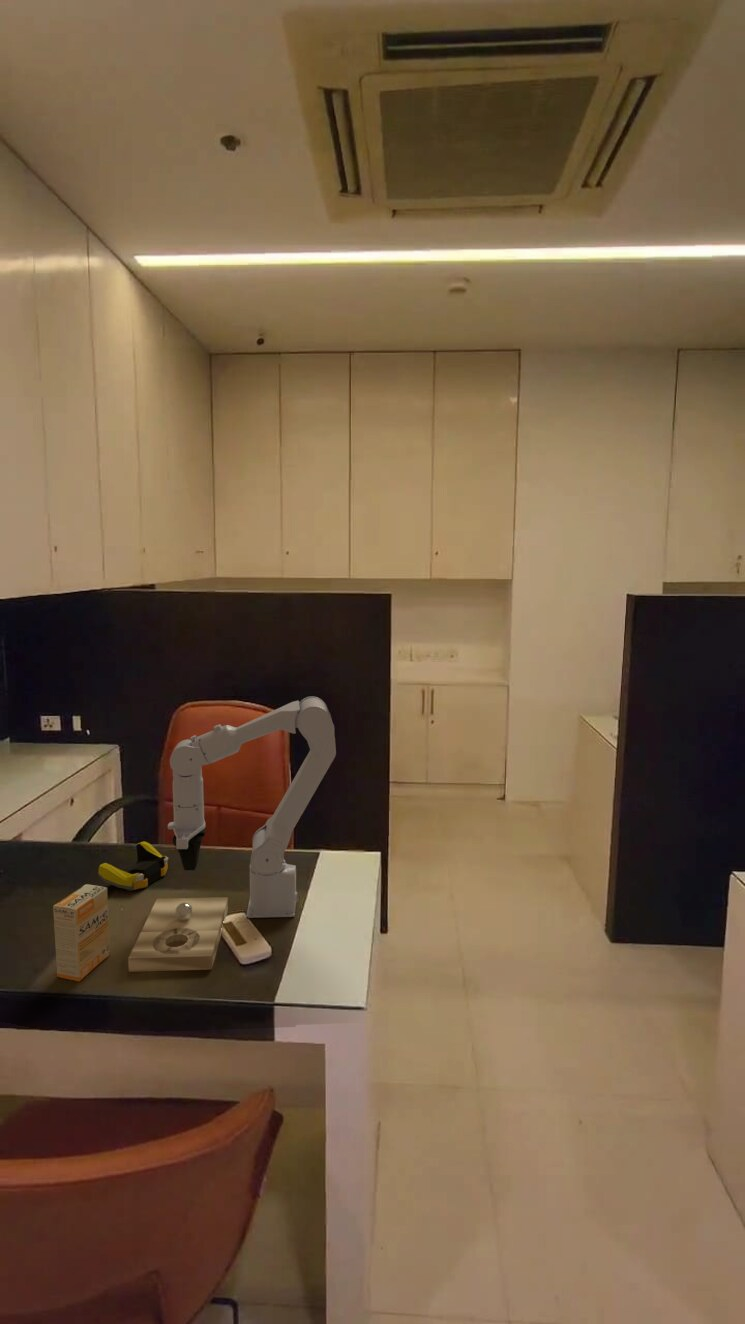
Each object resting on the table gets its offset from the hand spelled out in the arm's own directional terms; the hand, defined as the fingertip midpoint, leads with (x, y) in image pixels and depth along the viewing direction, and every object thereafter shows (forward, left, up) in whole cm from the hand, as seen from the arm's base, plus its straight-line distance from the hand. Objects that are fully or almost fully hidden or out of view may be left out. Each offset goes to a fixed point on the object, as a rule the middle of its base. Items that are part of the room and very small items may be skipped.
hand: (190, 868), depth 133 cm
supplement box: (+15, +17, -10) cm, 25 cm away
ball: (0, +7, -5) cm, 9 cm away
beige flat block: (0, +9, -9) cm, 13 cm away
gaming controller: (+15, -15, -10) cm, 23 cm away
